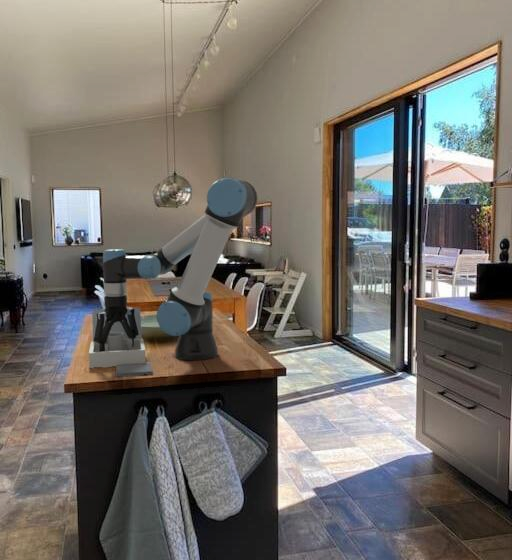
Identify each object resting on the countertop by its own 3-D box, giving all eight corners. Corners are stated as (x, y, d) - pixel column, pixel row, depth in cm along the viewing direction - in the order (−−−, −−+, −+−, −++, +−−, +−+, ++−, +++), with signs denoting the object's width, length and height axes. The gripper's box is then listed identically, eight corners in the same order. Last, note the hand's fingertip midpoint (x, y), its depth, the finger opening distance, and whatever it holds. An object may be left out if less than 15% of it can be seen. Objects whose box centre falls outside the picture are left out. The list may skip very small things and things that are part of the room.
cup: (103, 358, 196) (102, 332, 196) (133, 356, 198) (132, 331, 197) (101, 363, 189) (100, 337, 188) (132, 361, 191) (131, 336, 190)
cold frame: (145, 364, 187) (144, 318, 186) (89, 368, 183) (87, 320, 181) (142, 349, 210) (141, 307, 208) (92, 352, 205) (90, 309, 204)
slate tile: (152, 374, 176) (152, 371, 175) (116, 376, 173) (116, 373, 173) (150, 365, 186) (150, 362, 186) (116, 367, 184) (116, 364, 183)
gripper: (135, 290, 202) (136, 351, 204) (80, 297, 186) (83, 363, 188) (148, 292, 197) (149, 355, 200) (93, 299, 181) (95, 367, 183)
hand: (117, 359), depth 194 cm, fingers open, 9 cm apart
